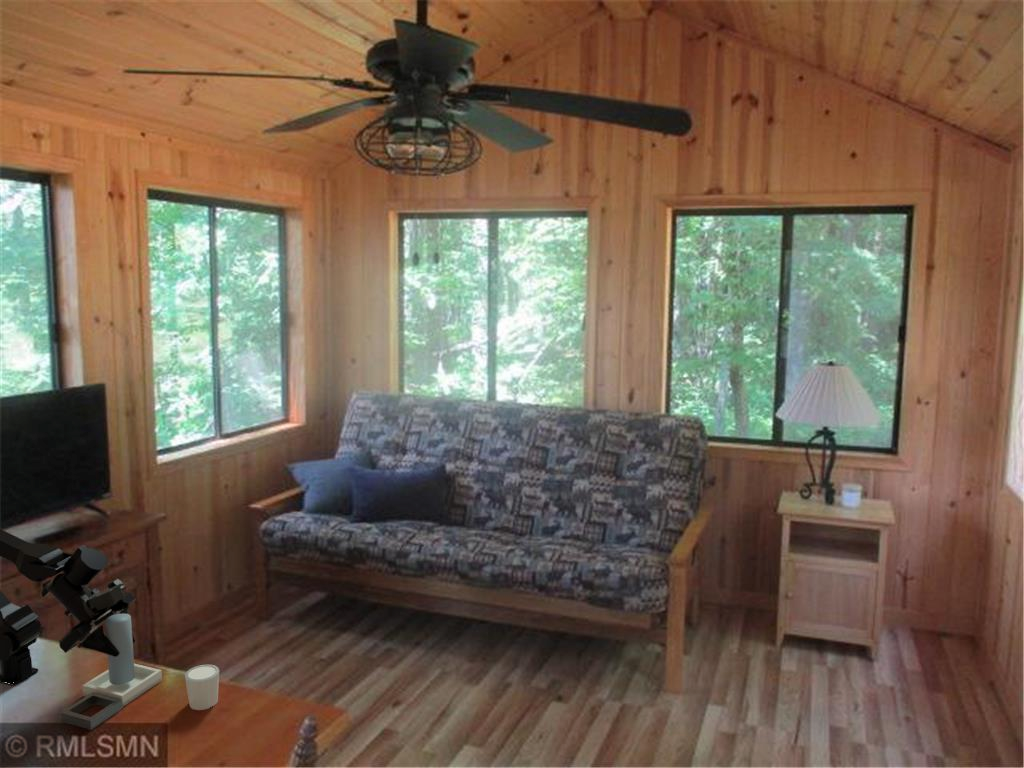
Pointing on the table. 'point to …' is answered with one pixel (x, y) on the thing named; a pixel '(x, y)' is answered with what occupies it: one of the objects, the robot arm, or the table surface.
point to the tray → (127, 691)
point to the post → (120, 649)
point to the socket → (90, 723)
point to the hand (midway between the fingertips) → (125, 649)
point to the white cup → (202, 686)
